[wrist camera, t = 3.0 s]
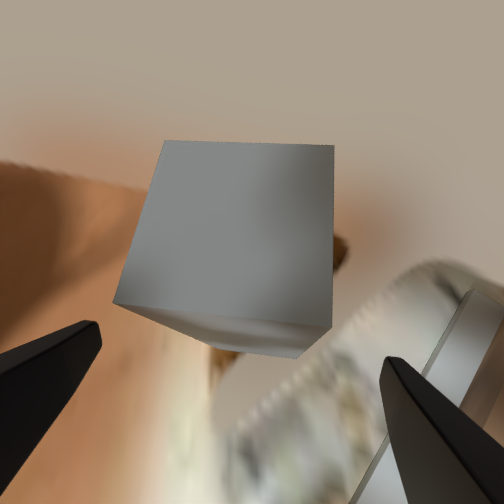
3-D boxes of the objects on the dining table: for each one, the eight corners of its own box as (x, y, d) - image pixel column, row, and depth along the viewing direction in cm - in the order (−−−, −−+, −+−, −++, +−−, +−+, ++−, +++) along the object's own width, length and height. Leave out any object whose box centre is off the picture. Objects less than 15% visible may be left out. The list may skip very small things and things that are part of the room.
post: (296, 359, 18) (332, 327, 6) (219, 349, 18) (112, 302, 7) (300, 283, 20) (334, 145, 8) (231, 276, 20) (164, 140, 8)
